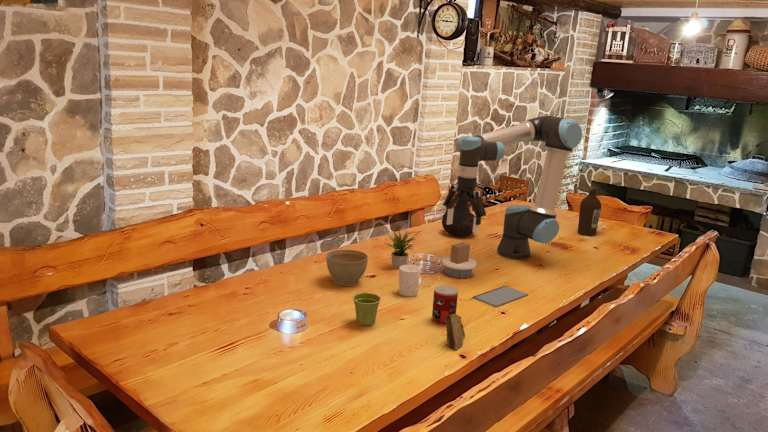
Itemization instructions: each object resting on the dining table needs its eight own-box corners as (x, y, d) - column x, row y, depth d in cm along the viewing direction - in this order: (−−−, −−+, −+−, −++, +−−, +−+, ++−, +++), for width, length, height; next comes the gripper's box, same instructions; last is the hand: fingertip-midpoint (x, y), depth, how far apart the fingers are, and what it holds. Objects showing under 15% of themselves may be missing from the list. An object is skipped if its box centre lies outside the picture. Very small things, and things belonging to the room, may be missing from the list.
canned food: (430, 314, 215) (432, 285, 212) (452, 315, 216) (455, 285, 213) (433, 324, 207) (436, 293, 205) (457, 324, 208) (460, 294, 205)
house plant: (413, 276, 250) (416, 238, 246) (379, 272, 253) (382, 234, 249) (418, 265, 264) (421, 228, 260) (386, 261, 266) (389, 225, 262)
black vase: (441, 228, 323) (446, 175, 316) (476, 231, 321) (481, 178, 313) (439, 238, 306) (444, 182, 298) (476, 241, 303) (482, 185, 296)
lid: (457, 256, 263) (459, 237, 261) (483, 265, 254) (485, 246, 251) (434, 262, 254) (436, 243, 252) (461, 272, 244) (463, 252, 242)
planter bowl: (372, 279, 245) (374, 252, 242) (357, 292, 230) (359, 265, 228) (335, 272, 250) (336, 246, 247) (318, 285, 235) (319, 258, 233)
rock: (455, 324, 203) (433, 326, 197) (471, 310, 198) (448, 312, 192) (470, 353, 198) (447, 357, 192) (486, 339, 193) (463, 343, 186)
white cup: (416, 298, 228) (418, 272, 226) (395, 295, 230) (397, 270, 227) (420, 290, 236) (422, 266, 233) (399, 288, 237) (401, 263, 235)
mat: (486, 279, 252) (486, 278, 252) (527, 295, 238) (528, 293, 238) (454, 290, 239) (454, 288, 239) (496, 307, 225) (496, 305, 225)
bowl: (456, 269, 263) (457, 257, 261) (477, 276, 255) (478, 265, 254) (439, 274, 255) (440, 262, 254) (459, 282, 248) (460, 270, 246)
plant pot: (346, 324, 203) (347, 300, 201) (358, 314, 212) (359, 290, 210) (373, 330, 200) (374, 305, 198) (383, 319, 209) (385, 295, 206)
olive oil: (572, 232, 329) (578, 186, 323) (582, 229, 337) (589, 184, 330) (590, 237, 322) (597, 190, 316) (600, 234, 329) (607, 188, 323)
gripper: (437, 171, 251) (432, 222, 256) (486, 183, 233) (480, 237, 239) (449, 169, 256) (445, 219, 261) (498, 181, 238) (492, 234, 244)
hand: (462, 228), depth 250 cm, fingers open, 13 cm apart
